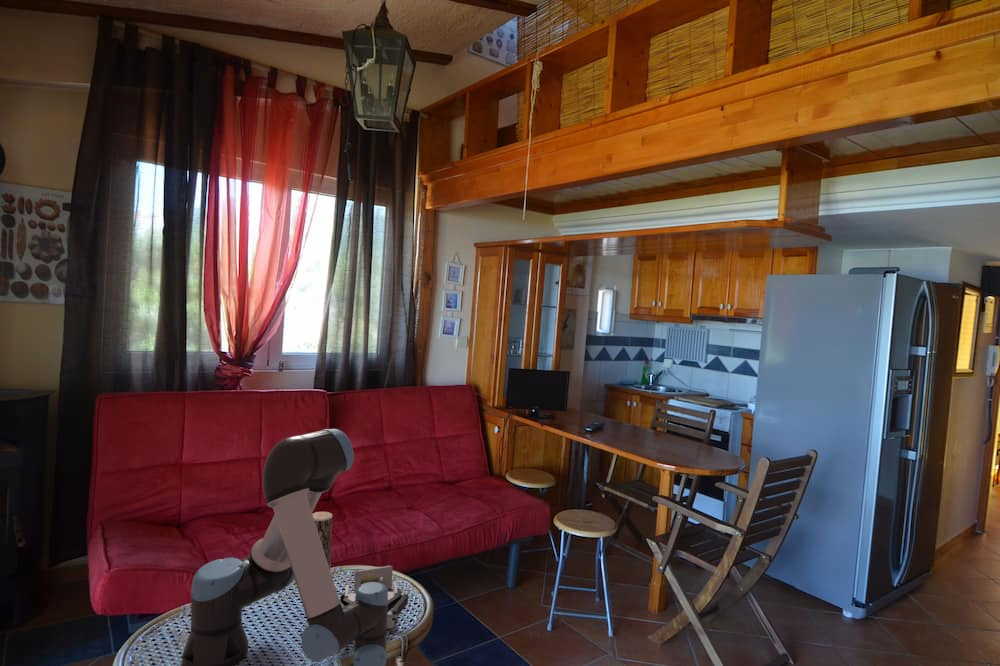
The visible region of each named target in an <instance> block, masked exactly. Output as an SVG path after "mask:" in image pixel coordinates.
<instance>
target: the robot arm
mask: <svg viewBox="0 0 1000 666" xmlns="http://www.w3.org/2000/svg"><path fill="white" fill-rule="evenodd" d="M354 460H355V453H354V449H353V444H352V442H351V439H350V438H349V437H348V435H347V434H346V433H345V432H344V431H342V430H340V429H338V428H328V429H327V428H324V429H322V430H318V431H312V432H308V433H304V434H299V435H293V436H288V437H285V438H283V439H281V440H280V441H279V442H278V443H276V444H275V445H274V446H273V448H271V450H270V451H269V453H268V455H267V457H266V459H265V463H264V465H263V471H262V489H263V490H262V491H263V496H264V499H265V502H266V505H267V507H270V508H271V509H273V513H274V515H273V517H272V519H271V521H270V523H269V525H268V528H267V530H266V531H265V534H264V535H263V538H260V539H259V540H257V541H256V542H255V543H253V546H252V547H251V550H250V551H249V554H248V556H247V557H244V558H242V559H239V558H236V557H224V558H222V559H221V558H218V559H215V560H211V561H210V562H207V563H205V564H204V565H202V566H201V567H200V568H199V569H198V570H197V571H196V572H195V573H194V576H193V577H192V581H191V582H192V583H191V589H190V597H191V602H190V604H191V605H190V606H191V609H190V618H191V619H190V631H189V632H190V633H189V635H188V637H187V641H186V642H185V646H184V649H183V652H182V659H181V665H182V666H238V665H239V664H240V663H242V662H243V661H244V660H245V658H246V657H247V656H248V653H249V639H248V636H247V633H246V631H245V628H244V626H243V623H242V617H243V616H242V614H243V609H244V608H245V607H248V606H249V605H252V604H254V603H256V602H258V601H261V600H262V599H264V598H267V597H268V596H271V595H274V594H276V593H279V592H281V591H282V590H283V589H285V588H287V587H288V586H290V585H291V583H292V582H293V581H294V580H295V584H296V588H297V591H298V595H299V598H300V600H301V604H302V608H303V611H304V614H305V616H306V621H307V624H308V626H307V627H306V628H305V629H304V630H303V632H302V634H301V636H300V638H301V643H300V644H301V649H302V652H303V653H304V656H306V657H307V658H308V660H309V661H312V662H315V663H318V662H319V663H320V662H323V661H324V660H327V659H328V658H330V657H332V656H334V655H336V654H337V653H338V652H339V651H341V650H343V649H344V648H345V647H347V646H348V645H350V644H352V643H353V642H354V644H353V655H352V656H353V658H352V662H353V666H386V663H387V655H388V652H387V641H388V640H387V637H388V636H387V635H388V631H387V629H388V628H387V618H392V620H393V621H394V622H396V621H397V620H398V616H399V615H400V613H401V612H403V610H404V608H406V606H407V605H408V604H409V594H408V593H405V594H403V595H402V590H401V589H398V584H397V583H398V581H395V582H393V592H394V597H392V598H391V599H389V600H388V592H389V590H387V587H386V586H385V585H384V584H381V583H379V582H367V583H364V584H362V585H360V586H359V587H358V589H357V590H356V596H355V598H356V600H355V601H354V602H353V601H351V600H349V599H348V595H349V594H350V593H349V592H350V584H346V585H345V592H341V593H340V597H339V595H338V592H337V588H336V586H335V583H334V578H333V575H332V572H331V570H330V569H329V566H328V562H327V559H326V556H325V553H324V550H323V546H322V543H321V540H320V537H319V534H318V530H317V527H316V524H315V521H314V518H313V515H312V514H313V512H314V510H315V508H316V506H317V503H318V502H319V500H320V498H321V496H322V494H323V493H325V492H328V491H329V490H330V489H332V486H333V484H334V483H335V480H336V479H337V477H338V475H339V474H343V473H346V471H348V470H350V469H351V468H352V466H353V463H354ZM389 611H390V612H389Z"/></svg>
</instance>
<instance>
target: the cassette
mask: <svg viewBox="0 0 1000 666" xmlns="http://www.w3.org/2000/svg"><path fill="white" fill-rule="evenodd" d="M368 574H373V575H376V576H377V577H378V580H379V583H381V584H384V585H385V586H386V587H387V589H391V590H392V588H393V566H392V565H385V566H379V567H371V568H365V569H357V570H354V585H353V586H354V587H353V594H356V590H357V589H358V587H359V586H360V585H361V579H362V577H363V576H365V575H368Z"/></svg>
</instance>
